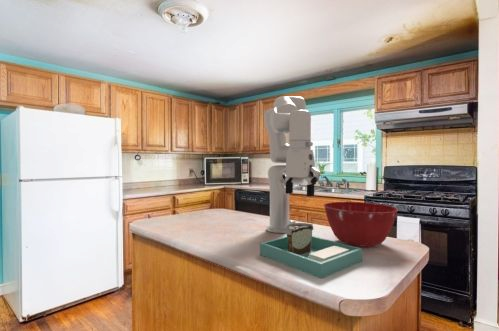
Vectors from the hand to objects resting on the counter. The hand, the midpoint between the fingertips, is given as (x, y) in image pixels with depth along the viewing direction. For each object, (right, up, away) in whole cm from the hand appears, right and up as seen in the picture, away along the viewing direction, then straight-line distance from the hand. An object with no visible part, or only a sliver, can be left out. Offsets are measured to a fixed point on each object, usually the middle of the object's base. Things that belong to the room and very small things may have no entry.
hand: (299, 194), depth 100 cm
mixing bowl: (+28, -22, +17) cm, 39 cm away
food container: (-1, -21, +2) cm, 21 cm away
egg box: (+8, -21, -9) cm, 24 cm away
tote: (+3, -22, -3) cm, 22 cm away
